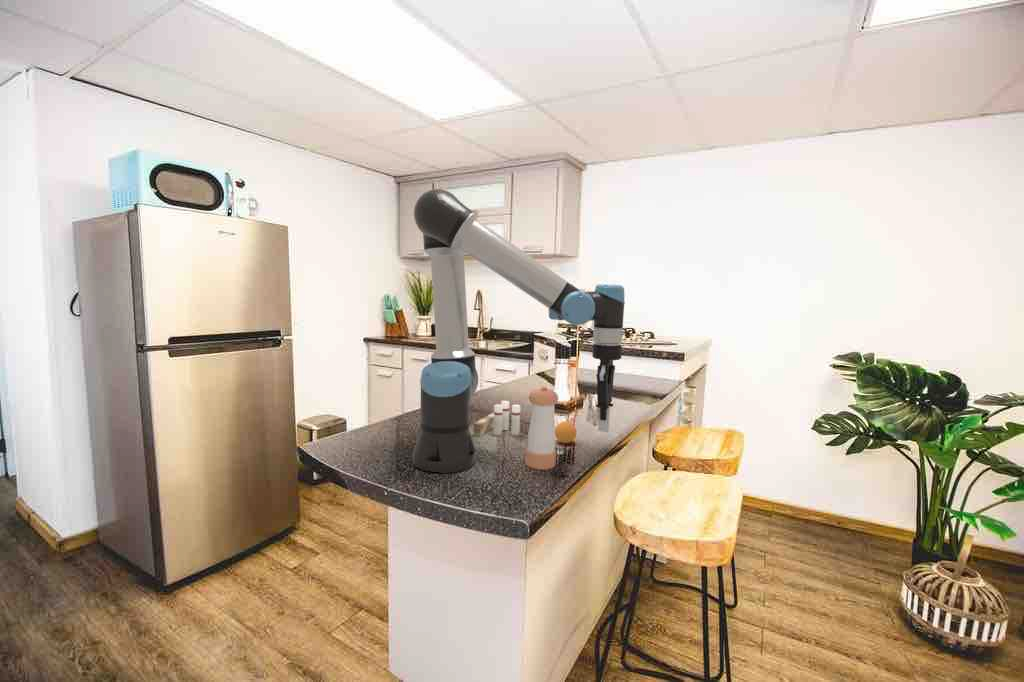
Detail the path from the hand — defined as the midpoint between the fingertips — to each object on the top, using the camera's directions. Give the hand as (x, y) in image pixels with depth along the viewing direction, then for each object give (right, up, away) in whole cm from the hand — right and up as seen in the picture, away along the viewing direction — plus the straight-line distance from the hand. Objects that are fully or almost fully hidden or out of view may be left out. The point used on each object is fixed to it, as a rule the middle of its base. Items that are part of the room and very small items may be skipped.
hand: (603, 430), depth 119 cm
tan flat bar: (-32, -2, +13) cm, 35 cm away
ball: (-10, -1, +4) cm, 11 cm away
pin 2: (-27, -2, +14) cm, 30 cm away
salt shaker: (-18, -6, -11) cm, 22 cm away
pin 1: (-29, -3, +10) cm, 30 cm away
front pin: (-24, -3, +10) cm, 26 cm away
